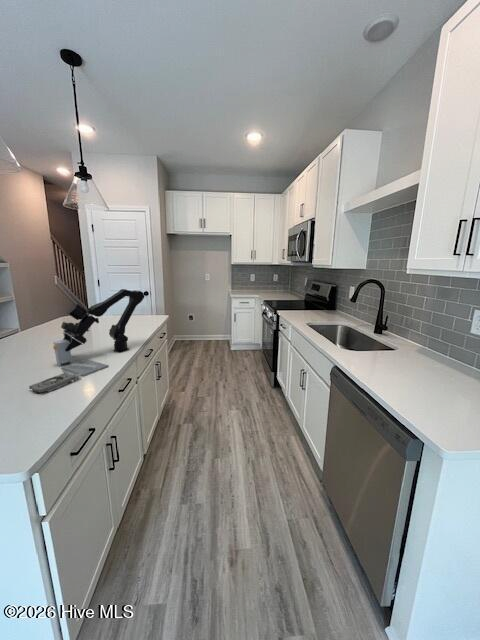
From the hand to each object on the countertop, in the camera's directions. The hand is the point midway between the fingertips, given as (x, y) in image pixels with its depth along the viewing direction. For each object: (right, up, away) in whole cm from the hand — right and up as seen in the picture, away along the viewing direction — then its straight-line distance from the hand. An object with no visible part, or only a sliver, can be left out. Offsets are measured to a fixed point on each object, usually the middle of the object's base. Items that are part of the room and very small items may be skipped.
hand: (63, 349), depth 134 cm
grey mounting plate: (+13, -9, -3) cm, 17 cm away
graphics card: (+10, -14, -21) cm, 27 cm away
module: (0, -8, +2) cm, 8 cm away
